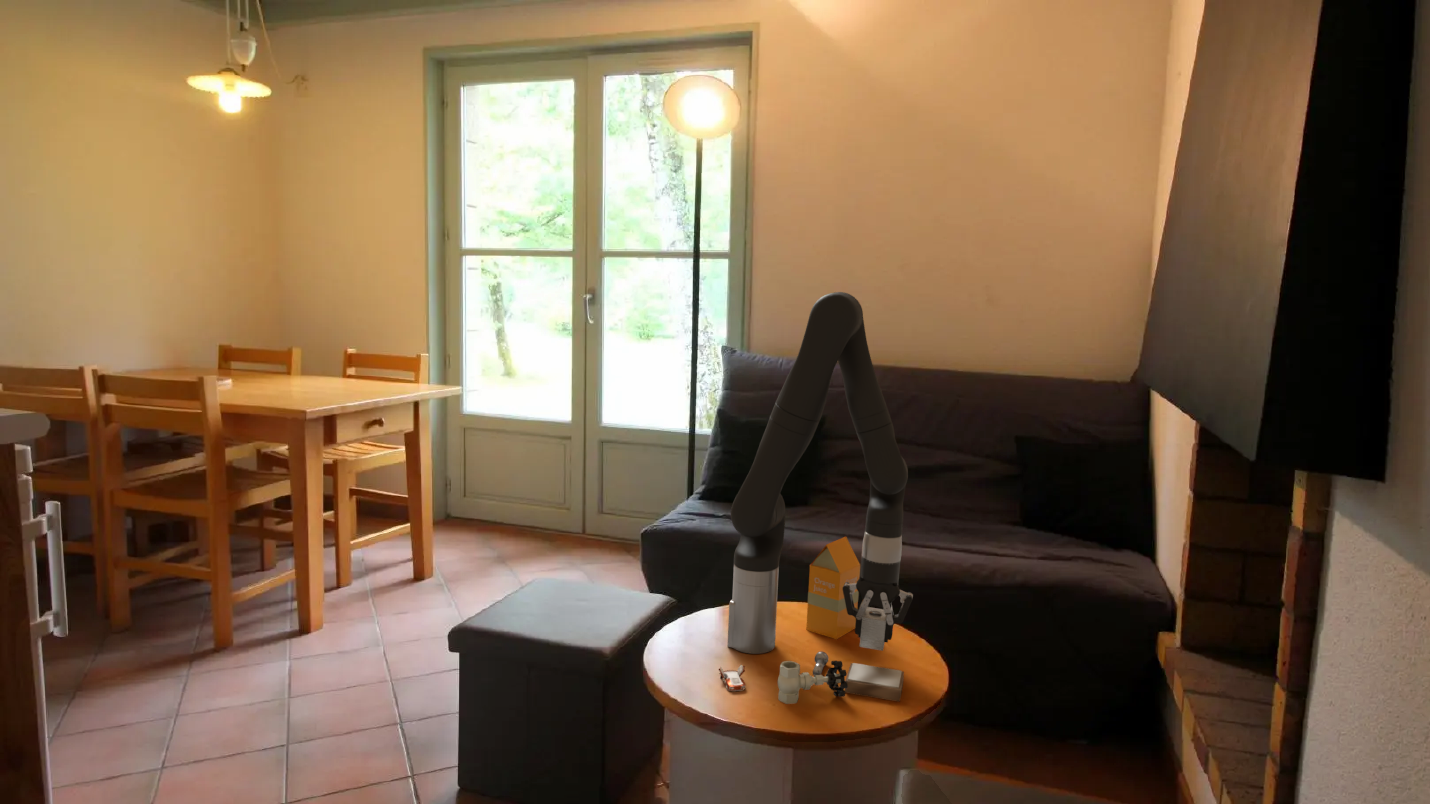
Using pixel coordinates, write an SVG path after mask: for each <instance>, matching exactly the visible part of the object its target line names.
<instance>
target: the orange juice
mask: <svg viewBox="0 0 1430 804" xmlns="http://www.w3.org/2000/svg"><path fill="white" fill-rule="evenodd" d="M860 565H861V563H860V561H859V559H858V558H857V556H856V554H855V552H854V549H853V548H852V546H851V543H850V541H849V539H848V537H847V536H844V537H840V538H839V539H837V540H833V541H832V542H829V543H827V544H826V545H825V546H824V547H823V548H822V550H820V551H819V553H818V555H817V556H816V557H815V558H814V559H813V561H811V563H810V564H809V577H808V592H807V612H806V628H805V629H806V630H807V631H810V632H812V633H816V634H819V635H822V636H825V637H828V638H830V639H834V640H837V639H839V638H841V637H842V636H844V635H846V634H847V633H849V632H851V631H853V630H855V624H856V618H855V617H854V616H852V615H848V613H847V609H846V604H845V599H844V594H843V586H844V583H845V582H848V583H850V584H851V583H857V581H858V580H859V576H860ZM859 596H860V594H859V592H858V590H857V589H855V592H854V594H853V595H852V597H853V602H854V607H855V608H857V609H858V608H859V607H858V605H859V603H858V602H859Z"/></svg>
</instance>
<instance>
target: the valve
mask: <svg viewBox="0 0 1430 804" xmlns="http://www.w3.org/2000/svg"><path fill="white" fill-rule="evenodd" d="M830 666H833V667H830V668H828V670H827V673H826V674H825V676H823V674H821V675H815V676H814V675H810V673H809V672H807V671H805V672H801V664H800V663H798V662H796V661H792V660H785V661H782V662H781V663H780V665H779V675H778V677H777V687H778V689H779V690H778V697H777V698H778V701H779V702H781V703H783V704H786V705H790V704H791V705H793V704H797V703H798V700H799V696H800V695H799V694H800V693H799V691H800V689H803V691H806V690H810V689H811V687H812V686H823V685H824V683H826V684H827V686H828V687H829V689H830V690H831V691H833V695H834V696H835V697H839V698H841V697H844V698H845V696H846V692H845V688H847V687H848V684H847V682H845V680H846V678H845V677H847V674H848V672H847V671H846V669H843V666H844V665H843V661H842V660H831V662H830ZM800 672H801V673H800ZM837 672H838V673H837ZM839 684H840V685H839Z"/></svg>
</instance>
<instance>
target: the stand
mask: <svg viewBox="0 0 1430 804" xmlns="http://www.w3.org/2000/svg"><path fill="white" fill-rule="evenodd" d="M904 673H905V672H904V671H903V670H901V669H894V668H893V669H892V668H887V667H886V668H885V667H881V666H874V665H869V664H868V665H867V664H863V663H855V662H853V663H850V666H849V669H848V671H847V674H846V676H845V677H846V678H845V682H847V684H848V687H847V688H845V689H844V691H845V694H846V693H847V694H852V695H859V696H863V697H864V696H865V697H870V698H876V699H883V700H888V701H894V702H900V701H901V697H902V692H903V686H904V675H905V674H904Z"/></svg>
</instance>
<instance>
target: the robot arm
mask: <svg viewBox="0 0 1430 804" xmlns="http://www.w3.org/2000/svg"><path fill="white" fill-rule="evenodd" d="M806 324H807V325H806V328H805V331H804V335H803V338H802V342H801V345H800V348H799V351H798V354H797V356H796V359H795V361H794V363H793V365H792V367H791V369H790V371H789V373H788V374H787V376H786V378H785V381H784V383H783V384H782V385H783V386H782V388H781V390H780V392H779V393H778V396H777V398H776V400H775V403H774V406H773V408H772V411H771V413H770V415H769V419H768V421H767V425H766V427H765V430H764V432H763V434H762V437H761V440H760V442H759V444H758V445H759V446H758V448H757V451H756V454H755V456H754V460H753V463H752V465H751V466H750V469H749V472H748V474H747V475H746V477H745V479H744V481H743V483H742V485H741V486H740V488H739V490H738V492H737V493H736V495H735V498H734V499H733V502H732V505H731V507H730V520H731V522H732V525H733V528H734V529H735V531H736V532H737V533H738V534H739V535H740V539H739V542H738V543H737V546H736V548H735V551H734V553H733V576H732V577H733V578H732V599H730V601H729V604H728V624H727V625H728V628H727V647H729V648H732V649H734V650H736V651H738V652H741V653H744V654H745V653H746V654H752V655H753V654H755V655H757V654H766V653H769V652H771V651H773V650H774V649H775V647H776V636H777V635H776V633H777V632H776V630H777V629H776V628H777V614H778V613H777V610H778V608H777V607H778V592H779V591H778V589H779V588H778V587H779V568H780V566H779V565H780V559H781V554H782V551H783V548H784V540H785V538H784V537H785V530H786V529H785V527H786V511H787V510H786V504H785V500H784V498H783V495H782V494H781V492H782V489H783V487H784V484H785V483H786V480H787V479H788V477H789V475H790V473H791V472H792V471H793V470H794V468H795V466H796V464H797V463H798V462H799V461H800V459H801V458H802V456H803V454H805V452H806V450H807V448H808V447H809V445H810V443H811V441H812V440H813V438H814V435H815V433H816V430H817V428H818V425H819V423H820V420H821V418H822V415H823V412H824V410H825V406H826V403H827V398H828V393H829V389H830V384H831V379H832V375H833V374H834V373H833V372H834V369H835V368H836V365H837V363H838V365H839V369H840V373H841V376H842V380H843V381H842V382H843V386H844V393H845V398H846V403H847V407H848V411H849V414H850V417H851V421H852V424H853V427H854V429H855V433H856V436H857V438H858V440H859V442H860V445H861V450H862V454H863V457H864V458H863V459H864V461H865V462H864V463H865V465H866V470H867V473H868V477H869V479H870V483H869V486H870V487H869V501H868V505H867V506H868V507H867V509H866V517H865V527H864V535H863V539H862V545H861V557H860V575H859V580H858V581H857V583H851V584H850V583H848V582H845V583H844V586H843V594H844V599H845V604H846V609H847V613H848V615H852V616H854V617H855V618H856V624H855V629H854V633H855V635H857V638H859V639H860V636H861V625H862V616H863V614H864V613H865V611H866V609H867V607H870V606H871V607H875V606H876V607H879V608H880V609H884V613H885V615H886V620H887V622H886V628H885V639H884V642H885V643H887V644H888V643H889V642H888V641H891V640H892V638H893V632H894V625H895V624H899V625H900V624H902V623H904V620H905V618H906V615H907V613H908V612H909V609H910V606H911V604H912V602H913V597H914V594H913V593H912V592H911V591H908V592H907V591H904V590H902V589H901V587H900V584H899V579H900V570H901V559H902V556H903V555H902V554H903V552H902V548H903V543H902V542H903V541H902V539H903V537H902V535H903V526H904V500H905V493H906V492H905V491H906V485H907V483H908V480H909V479H908V478H909V471H908V470H909V469H908V465H907V462H906V460H905V459H904V457H903V456H902V453H901V451H900V448H899V446H898V443H897V440H896V435H895V429H894V424H893V422H892V418H891V415H890V412H889V409H888V406H887V403H886V400H885V397H884V395H883V391H882V389H881V386H880V383H879V381H878V377H877V375H876V371H875V369H874V364H873V361H872V359H871V358H872V357H871V354H870V350H869V346H868V341H867V335H866V327H865V321H864V311H863V307H862V305H861V303H860V302H859V300H858V299H857V298H856V297H855V296H853V295H852V294H850V293H848V292H844V291H837V292H836V291H835V292H831V293H827V294H825V295H823V296H821V297H820V298H818V299H817V300H816V302H815V303H814V304H813V306H812V308H811V310H810V313H809V317H808V320H807V323H806ZM855 589H857V590H858V592H859V596H860V597H861V598H862V601H861V602H860V604H859V607H857V608H855V607H854V602H853V597H852V595H853V594H854V592H855ZM898 596H899V597H900V600H899V601H900V603H901V606H900V609H899V612H898V613H897V614H894V610H893V605H892V603H893V602H894V601H895V599H896V598H898Z"/></svg>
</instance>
